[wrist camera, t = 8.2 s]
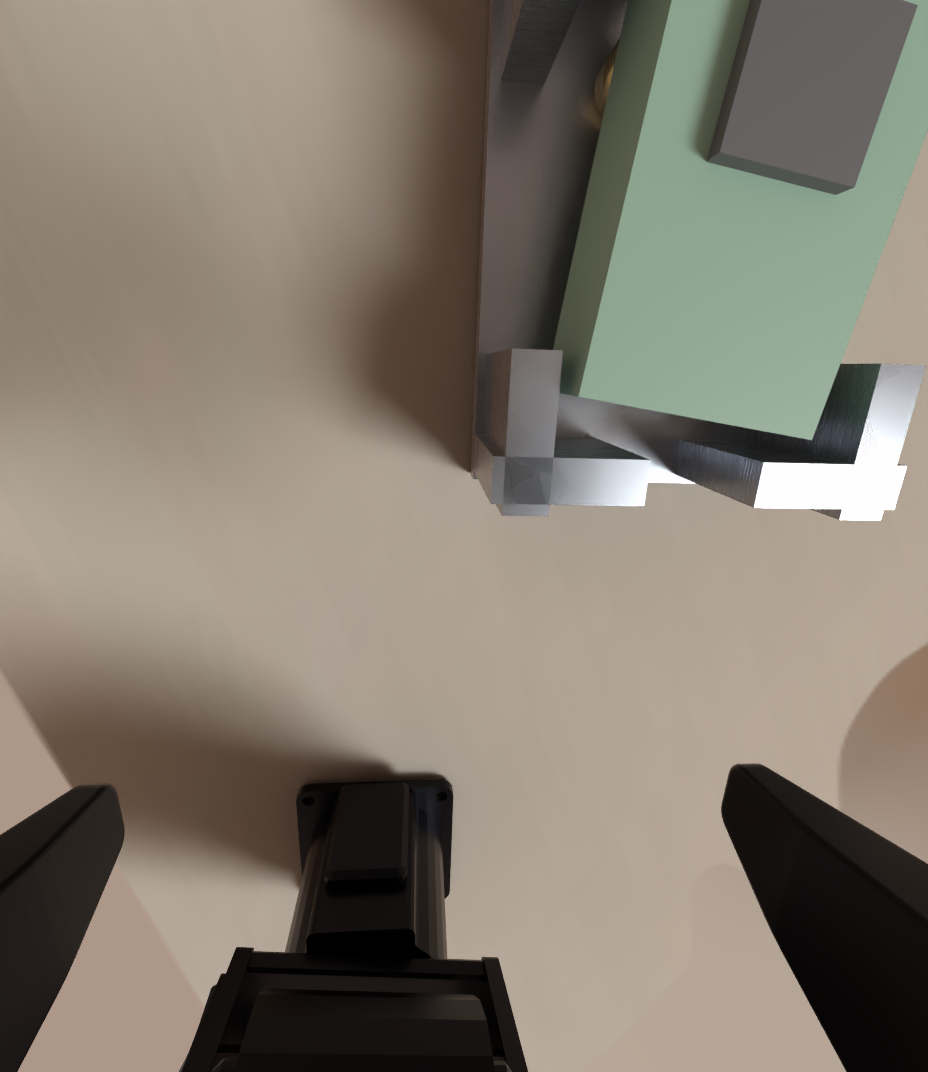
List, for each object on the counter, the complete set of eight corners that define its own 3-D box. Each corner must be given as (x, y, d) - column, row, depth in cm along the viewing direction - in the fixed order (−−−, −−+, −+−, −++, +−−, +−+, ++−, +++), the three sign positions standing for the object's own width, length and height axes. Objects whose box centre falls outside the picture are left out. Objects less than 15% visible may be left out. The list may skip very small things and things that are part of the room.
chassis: (763, 479, 19) (890, 520, 14) (470, 473, 18) (490, 515, 13) (876, -41, 15) (1126, -265, 9) (492, -85, 14) (536, -360, 9)
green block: (730, 425, 16) (827, 443, 12) (543, 390, 15) (584, 397, 11) (859, 28, 13) (1038, -110, 9) (636, -40, 12) (733, -221, 9)
